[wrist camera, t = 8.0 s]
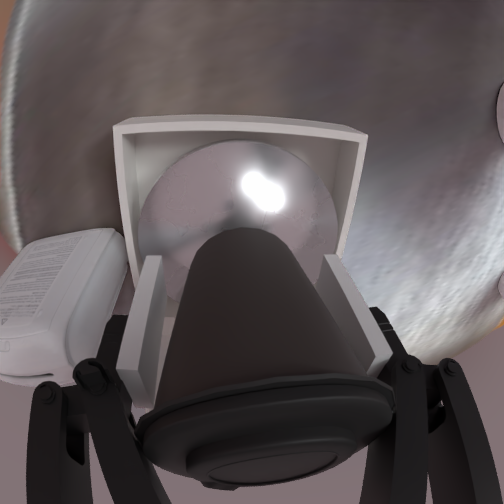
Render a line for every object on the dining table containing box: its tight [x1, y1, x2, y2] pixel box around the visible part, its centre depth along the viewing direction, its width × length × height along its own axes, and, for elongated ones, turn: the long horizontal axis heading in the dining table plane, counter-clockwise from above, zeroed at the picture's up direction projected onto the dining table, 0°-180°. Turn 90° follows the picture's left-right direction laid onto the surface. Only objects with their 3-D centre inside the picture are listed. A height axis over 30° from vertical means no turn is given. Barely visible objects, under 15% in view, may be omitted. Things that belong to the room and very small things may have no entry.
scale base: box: [113, 114, 368, 413], centre depth 18 cm, size 21×14×11 cm
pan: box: [138, 138, 338, 304], centre depth 19 cm, size 12×12×3 cm
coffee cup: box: [134, 227, 395, 491], centre depth 11 cm, size 8×8×10 cm
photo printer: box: [0, 228, 129, 387], centre depth 16 cm, size 10×4×12 cm, turn 95°
